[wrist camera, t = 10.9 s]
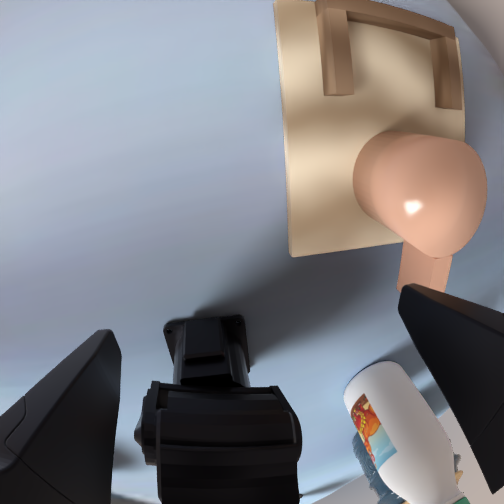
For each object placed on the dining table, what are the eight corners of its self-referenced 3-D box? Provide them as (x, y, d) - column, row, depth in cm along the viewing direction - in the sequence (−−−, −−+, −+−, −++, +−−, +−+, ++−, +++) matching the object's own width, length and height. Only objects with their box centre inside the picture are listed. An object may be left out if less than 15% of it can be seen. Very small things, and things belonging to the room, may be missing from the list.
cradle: (449, 230, 24) (470, 242, 21) (288, 251, 22) (300, 270, 20) (450, 39, 17) (473, 35, 14) (273, 4, 15) (284, -13, 12)
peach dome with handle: (352, 128, 18) (410, 135, 12) (428, 133, 19) (490, 145, 13) (347, 275, 23) (389, 324, 17) (417, 262, 24) (464, 300, 18)
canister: (435, 404, 38) (486, 481, 22) (377, 451, 41) (414, 528, 25) (402, 389, 33) (466, 491, 17) (333, 445, 36) (372, 544, 20)
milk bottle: (368, 354, 29) (465, 513, 10) (411, 362, 31) (498, 488, 13) (328, 402, 31) (393, 552, 13) (373, 405, 33) (438, 528, 15)
